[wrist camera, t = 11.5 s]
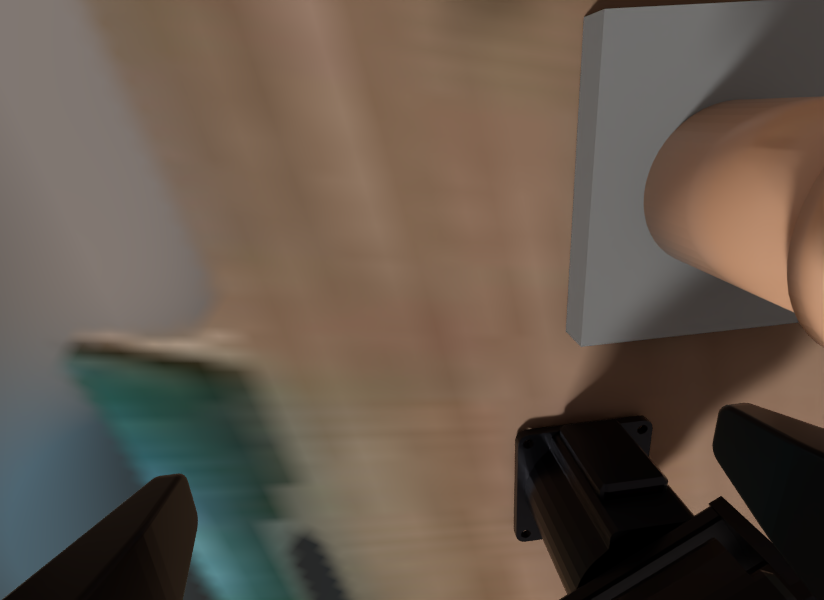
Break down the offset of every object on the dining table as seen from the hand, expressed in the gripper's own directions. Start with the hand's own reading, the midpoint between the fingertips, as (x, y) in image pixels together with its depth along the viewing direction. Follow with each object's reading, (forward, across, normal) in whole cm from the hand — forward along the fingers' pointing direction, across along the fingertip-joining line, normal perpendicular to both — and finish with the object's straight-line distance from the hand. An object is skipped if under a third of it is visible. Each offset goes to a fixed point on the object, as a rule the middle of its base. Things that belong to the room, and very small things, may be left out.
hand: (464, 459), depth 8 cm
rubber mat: (+12, -12, -2) cm, 17 cm away
